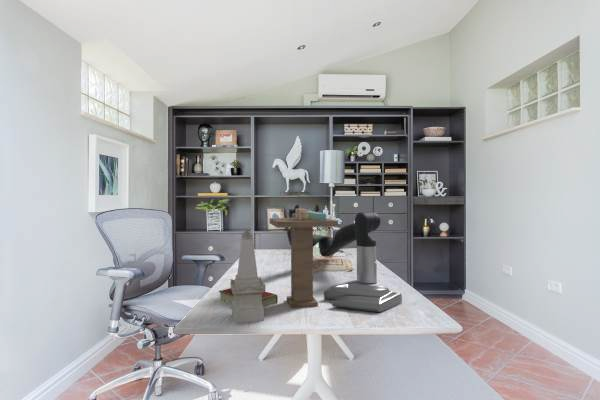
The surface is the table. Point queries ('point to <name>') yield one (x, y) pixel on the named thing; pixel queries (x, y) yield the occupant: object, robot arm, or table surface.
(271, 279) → the table surface
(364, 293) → the striped bevelled slab
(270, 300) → the hardcover book
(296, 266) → the shelf stand
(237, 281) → the miniature monument
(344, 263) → the mottled tan slab
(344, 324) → the table surface
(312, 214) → the slat
